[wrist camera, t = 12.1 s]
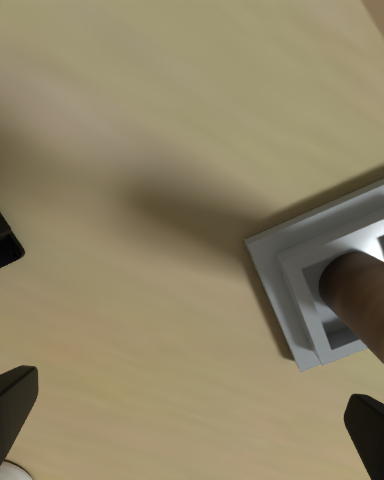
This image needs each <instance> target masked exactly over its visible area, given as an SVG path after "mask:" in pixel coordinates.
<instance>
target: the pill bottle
mask: <svg viewBox="0 0 384 480" xmlns="http://www.w3.org/2000/svg"><path fill="white" fill-rule="evenodd" d="M0 480H33V479H32V478H31V477H30V475H29V474H28V473H26V472H25V471H24V470H23V469H21V468H19V467H18V466H16V465H13V464H11V463H8V462H4V461H3V463H2V464H1V466H0Z"/></svg>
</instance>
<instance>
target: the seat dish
mask: <svg viewBox="0 0 384 480" xmlns="http://www.w3.org/2000/svg"><path fill="white" fill-rule="evenodd" d="M244 242H245V245H246V247H247V249H248V252H249V254H250V256H251V259H252V261H253V264H254V266H255V268H256V271H257V273H258V275H259V278H260V280H261V283H262V285H263V287H264V290H265V292H266V294H267V297H268V299H269V301H270V304H271V306H272V309H273V311H274V313H275V316H276V318H277V320H278V323H279V325H280V328H281V330H282V332H283V335H284V337H285V339H286V342H287V344H288V347H289V349H290V351H291V354H292V356H293V358H294V361H295V363H296V365H297V366H298V368H299V370H300V372H302V371H304V370H307V369H309V368H312V367H315V366H317V365H320V364H322V366H323V365H325V364H328V363H331V362H333V361H336V360H338V359H341V358H344V357H346V356H349V355H351V354H354V353H357V352H359V351H362V350H364V349H367V348H368V347H367V346H366V345H365V344H364V343H363V342H362V341H361V340H360V339H359V338H358V337H357V336H356V335H355V334H354V333H353V332H352V331H351V330H350V329H349V328H348V327H347V326H346V324H345V323H344V322H343V321H342V320H341V319H340V318H339V317H338V316H337V315H336V314H335V313H334V312H333V311H332V310H331V309H330V308H329V307H328V306H327V305H326V304H325V303H324V302H323V300H322V299H321V297H320V294H319V280H320V277H321V275H322V273H323V271H324V269H325V268H326V267H327V266H328V265H329V263H331V262H332V261H333V260H334V259H336V258H337V257H339V256H341V255H344V254H346V253H351V252H364V253H367V254H370V255H372V256H374V257H376V258H378V259H380V260H381V261H383V262H384V178H383V179H381V180H378V181H376V182H374V183H372V184H369V185H367V186H365V187H363V188H360V189H358V190H356V191H354V192H351V193H349V194H347V195H344V196H342V197H340V198H338V199H335V200H333V201H331V202H329V203H326V204H324V205H322V206H319V207H317V208H315V209H313V210H310V211H308V212H306V213H304V214H301V215H299V216H297V217H295V218H292V219H290V220H288V221H285V222H283V223H281V224H279V225H276V226H274V227H272V228H270V229H267V230H265V231H263V232H261V233H258V234H256V235H254V236H251V237H249V238H247V239H245V240H244Z"/></svg>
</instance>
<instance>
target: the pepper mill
mask: <svg viewBox="0 0 384 480" xmlns="http://www.w3.org/2000/svg"><path fill="white" fill-rule="evenodd" d="M319 294H320V297H321V299H322V300H323V302H324V303H325V304H326V305H327V306H328V307H329V308H330V309H331V310H332V311H333V312H334V313H335V314H336V315H337V316H338V317H339V318H340V319H341V320H342V321H343V322H344V323H345V324H346V326H347V327H348V328H349V329H350V330H351V331H352V332H353V333H354V334H355V335H356V336H357V337H358V338H359V339H360V340H361V341H362V342H363V343H364V344H365V345H366V346H367V347H368V348H369V349H370V350H371V351H372V352H373V353H374V354H375V355H376V356H377V357H378V359H379V360H380V361H381V362H382V363H383V364H384V262H383V261H381V260H380V259H378V258H376V257H374V256H372V255H370V254H367V253H364V252H351V253H346V254H344V255H341V256H339V257H337V258H336V259H334V260H333V261H332V262H331V263H329V265H328V266H327V267H326V268H325V269H324V271H323V273H322V275H321V277H320V280H319Z"/></svg>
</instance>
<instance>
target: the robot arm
mask: <svg viewBox="0 0 384 480" xmlns="http://www.w3.org/2000/svg"><path fill="white" fill-rule="evenodd" d="M14 250H16V251H17V252H18V255H17V254H15V252H14ZM24 255H25V251H24V248H23V247H22V245H21V244H20V242H19V241H18V240H17V238H16V237H15V235H14V234H13V232H12V231H11V228H10V226H9V225H8V223H7V222H6V220H5V219H4V217H3V216H2V214H1V213H0V268H1V267H4V266H6V265H8V264H10V263H12V262H14V261H16V260H18V259H20V258H22V257H23V256H24ZM37 396H38V369H37V368H36V367H35V366H26V365H22V366H19V367H16V368H14V369H12V370H10V371H7V372H5V373H3V374H1V375H0V466H1V464H2V463H3V461H4V459H5V458H6V456H7V454H8V453H9V451H10V449H11V447H12V445H13V443H14V441H15V440H16V438H17V436H18V434H19V432H20V430H21V428H22V426H23V424H24V422H25V420H26V419H27V417H28V415H29V413H30V411H31V409H32V407H33V405H34V403H35V401H36V399H37ZM344 423H345V426H346V429H347V431H348V433H349V435H350V437H351V439H352V441H353V443H354V445H355V447H356V449H357V451H358V454H359V456H360V458H361V460H362V462H363V464H364V466H365V468H366V470H367V472H368V474H369V476H370V478H371V480H384V404H383V403H381V402H379V401H377V400H375V399H374V398H372V397H370V396H368V395H365V394H352V395H351V397H350V399H349V402H348V404H347V407H346V410H345V413H344Z"/></svg>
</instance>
